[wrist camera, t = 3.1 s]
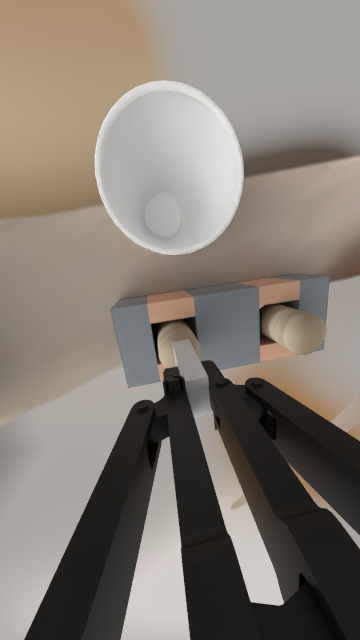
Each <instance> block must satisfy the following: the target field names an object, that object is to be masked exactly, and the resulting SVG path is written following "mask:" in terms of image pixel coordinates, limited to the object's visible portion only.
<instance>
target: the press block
mask: <svg viewBox="0 0 360 640" xmlns="http://www.w3.org/2000/svg"><path fill="white" fill-rule="evenodd" d="M329 279H330V276H319V275H299V274H291V275H284V276H277V277H270V278H264V279H257V280H250V281H243V282H237V283H230V284H223V285H216V286H210V287H203V288H196V289H189V290H183V291H176V292H169V293H162V294H155V295H149V296H142V297H135V298H128V299H122V300H119V301H118V302H117V303H116V304H115V305H114V306H113V307H112V308H111V309H110V310H111V315H112V319H113V323H114V328H115V332H116V336H117V341H118V345H119V349H120V354H121V358H122V362H123V367H124V371H125V375H126V379H127V384H128V388H130V387H135V386H140V385H145V384H151V383H156V382H161V381H164V377H163V372H164V370H165V369H166V367H164V366H163V364H162V363H161V361H160V359H159V352H158V344H157V345H156V341H155V336H154V330H153V324H152V323H158V322H164V321H170V320H176V319H182V318H187V321H188V326H189V328H190V329H191V331H192V332H193V334H194V335H195V337H196V339H197V340H198V342H199V344H200V347H201V355H200V358H199V360H200V362H201V361H207V360H211V361H213V362H214V363H215V364H216V366H217V367H218V369H219V370H222V369H227V368H232V367H238V366H243V365H248V364H253V363H258V362H263V361H268V360H273V359H279V358H284V357H289V356H294V355H299V354H296V353H294V352H293V351H291V350H289V349H287V348H286V347H284V346H282V345H281V344H279V343H277V342H276V341H274V340H272V339H271V338H269V337H267V336H265V335H264V334H262V333H261V332H260V323H259V306H262V305H268V304H274V303H276V304H279V305H283V306H286V307H290V308H293V309H297V310H300V311H303V312H307V313H310V314H314V315H317V316H319V317H321V318H322V319H323V320H324V322H325V324H326V316H327V304H328V291H329ZM324 341H325V339H324ZM324 341H323V343H322V344H321V345H320V347H319V348H318V349H316V350H315V351H320V350H324Z"/></svg>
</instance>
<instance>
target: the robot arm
mask: <svg viewBox="0 0 360 640" xmlns="http://www.w3.org/2000/svg"><path fill="white" fill-rule="evenodd" d="M172 344H173V350H174V357H175V364H176V367H172V368H166V369H165V370H164V372H163V377H164V381H163V387H164V393H165V395H164V397H163V398H162V399H161V400H160V401H158V402H156V403H153V402H152V401H150V400H142V401H139V402H137V403H136V404H134V406H133V407H132V409H131V411H130V413H129V415H128V417H127V419H126V422H125V423H124V426H123V428H122V430H121V432H120V434H119V436H118V439H117V441H116V443H115V445H114V448H113V449H112V452H111V454H110V456H109V458H108V460H107V463H106V464H105V467H104V469H103V471H102V473H101V475H100V478H99V480H98V482H97V484H96V486H95V488H94V490H93V493H92V495H91V497H90V499H89V501H88V503H87V505H86V508H85V510H84V512H83V514H82V516H81V518H80V521H79V523H78V525H77V527H76V529H75V531H74V534H73V536H72V538H71V540H70V542H69V544H68V547H67V549H66V551H65V553H64V555H63V557H62V559H61V562H60V564H59V566H58V568H57V570H56V572H55V575H54V577H53V579H52V581H51V583H50V585H49V588H48V590H47V592H46V594H45V596H44V598H43V601H42V603H41V605H40V607H39V609H38V611H37V613H36V616H35V618H34V620H33V622H32V624H31V627H30V628H29V631H28V633H27V635H26V637H25V639H24V640H120V639H121V634H122V629H123V624H124V620H125V615H126V610H127V605H128V600H129V596H130V591H131V586H132V581H133V577H134V572H135V567H136V562H137V558H138V553H139V548H140V543H141V538H142V533H143V529H144V524H145V519H146V515H147V510H148V505H149V501H150V496H151V490H152V486H153V481H154V477H155V472H156V467H157V462H158V458H159V453H160V448H161V441H162V440H163V439H165V438H167V437H170V445H171V454H172V463H173V473H174V480H175V481H174V482H175V490H176V500H177V508H178V518H179V526H180V536H181V546H182V547H181V553H182V565H183V574H184V583H185V593H186V602H187V612H188V621H189V630H190V640H360V549H359V548H358V546H357V545H356V544H355V542H354V541H353V539H352V538H351V537H350V535H349V534H348V533H347V531H346V530H345V529H344V528H343V526H342V525H341V523H340V522H339V521H338V520H337V518H336V517H335V516H334V515H333V514H332V513H331V512H330V511H329V510H328V509H324V508H320V507H318V506H317V504H316V503H315V502H314V501H313V499H312V498H311V496H310V495H309V494H308V492H307V491H306V489H305V488H304V486H303V485H302V483H301V482H300V481H299V479H298V478H297V476H296V475H295V474H294V472H293V470H292V469H291V467H290V466H289V464H290V465H291V466H292V467H293V468H294V469H295V470H296V471H297V472H298V473H299V474H300V475H301V476H302V477H303V479H305V481H307V483H308V484H310V486H311V487H312V488H313V489H314V490H315V491H317V493H318V494H319V495H320V496H321V497H322V498H323V499H324V500H325V501H326V502H327V503H328V504H329V505H330V506H331V507H332V508H333V509H334V510H335V511H336V512H337V513H338V514H339V515H340V516H341V517H342V518H343V519H344V520H345V521H346V522H347V523H348V524H349V525H350V526H351V527H352V528H353V529H354V530H355V531H356V532H357V533H358V534H359V535H360V441H358V440H357V439H355V438H354V437H352V436H351V435H349V434H348V433H346V432H345V431H343V430H342V429H340V428H338V427H337V426H335V425H334V424H332V423H331V422H329V421H328V420H326V419H324V418H323V417H321V416H320V415H318V414H317V413H315V412H314V411H312V410H310V409H309V408H308V407H306V406H304V405H303V404H301V403H300V402H298V401H297V400H295V399H293V398H292V397H290V396H289V395H287V394H286V393H284V392H283V391H281V390H280V389H278V388H277V387H275V386H273V385H272V384H270V383H269V382H267V381H266V380H264V379H261V378H249V379H248V380H246V382H245V385H235V384H233V383H232V382H231V381H230V380H229V379H226V378H224V376H223V375H222V373H221V372H220V370H219V369H218V367H217V366H216V364H215V363H214V362H213V361H211V360H207V361H201V362H200V360H199V358H198V356H197V354H196V352H195V350H194V349H193V347H192V345H191V343H190V341H189V339H185V340H180V341H174V342H172ZM211 408H212V410H211ZM212 411H213V413H214V423H215V430H217V428H218V431H219V433H220V436H221V438H222V441H223V443H224V445H225V448H226V450H227V453H228V455H229V458H230V460H231V463H232V465H233V468H234V470H235V472H236V475H237V478H238V480H239V483H240V485H241V487H242V490H243V493H244V495H245V497H246V500H247V502H248V505H249V507H250V510H251V512H252V515H253V517H254V520H255V522H256V525H257V527H258V529H259V532H260V535H261V537H262V540H263V541H264V544H265V547H266V549H267V552H268V554H269V557H270V559H271V562H272V564H273V567H274V569H275V572H276V575H277V579H278V583H279V587H280V590H281V594H282V597H283V600H284V604H283V605H280V606H276V605H268V604H260V603H252V602H250V599H249V596H248V592H247V589H246V586H245V582H244V579H243V575H242V572H241V569H240V566H239V562H238V559H237V555H236V552H235V549H234V546H233V543H232V540H231V537H230V536H229V534H228V533H227V530H226V527H225V524H224V520H223V517H222V513H221V510H220V506H219V503H218V499H217V496H216V493H215V489H214V485H213V482H212V479H211V475H210V472H209V468H208V465H207V461H206V458H205V454H204V451H203V447H202V444H201V440H200V437H199V433H198V430H197V426H196V423H195V419H194V418H197V417H202V416H206V415H211V414H212ZM269 412H270V413H269ZM286 461H287V462H288V463H289V464H288V463H287V462H286Z"/></svg>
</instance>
